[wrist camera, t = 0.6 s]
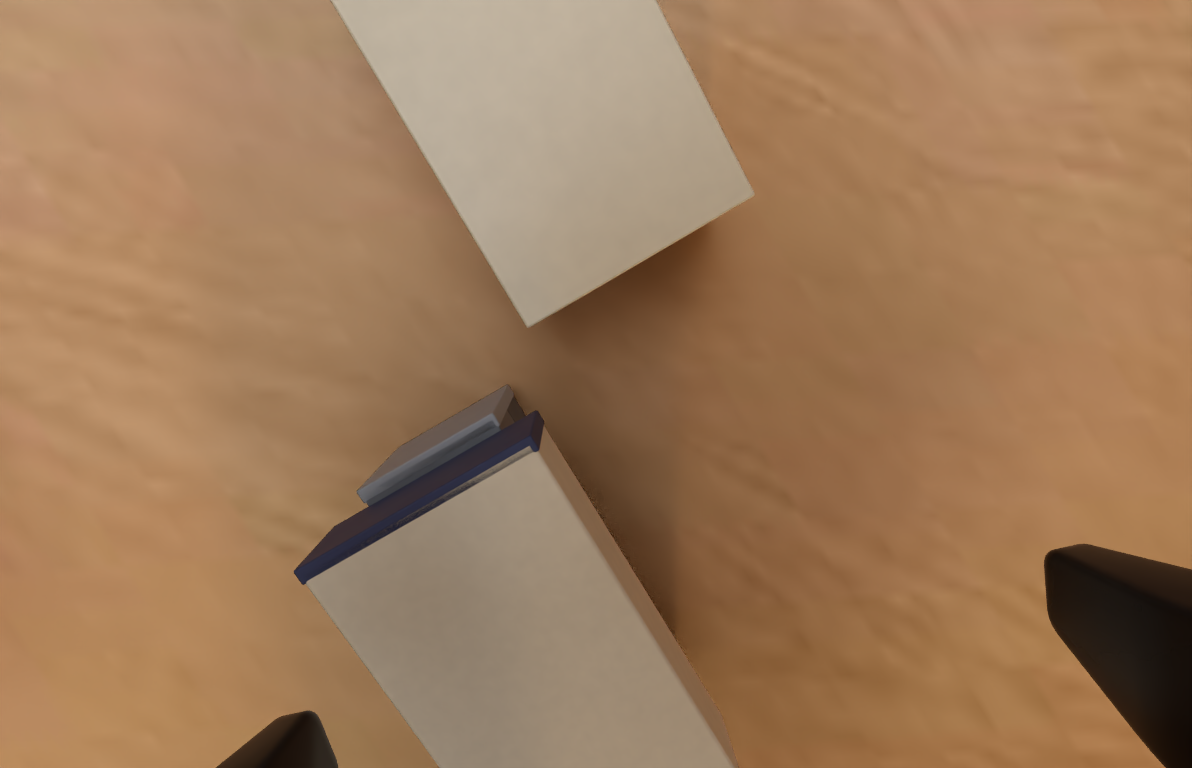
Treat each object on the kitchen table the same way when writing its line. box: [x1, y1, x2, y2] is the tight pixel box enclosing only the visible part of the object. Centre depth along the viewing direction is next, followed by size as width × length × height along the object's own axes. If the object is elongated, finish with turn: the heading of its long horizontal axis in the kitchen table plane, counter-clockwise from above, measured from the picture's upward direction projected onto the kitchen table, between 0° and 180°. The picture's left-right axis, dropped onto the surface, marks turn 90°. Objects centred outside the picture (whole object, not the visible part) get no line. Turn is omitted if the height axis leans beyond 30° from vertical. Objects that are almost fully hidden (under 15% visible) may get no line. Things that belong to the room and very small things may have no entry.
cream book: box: [294, 411, 739, 768], centre depth 16 cm, size 6×10×2 cm, turn 30°
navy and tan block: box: [330, 0, 755, 328], centre depth 16 cm, size 6×10×5 cm, turn 30°
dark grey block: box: [357, 385, 525, 506], centre depth 19 cm, size 4×11×4 cm, turn 30°
